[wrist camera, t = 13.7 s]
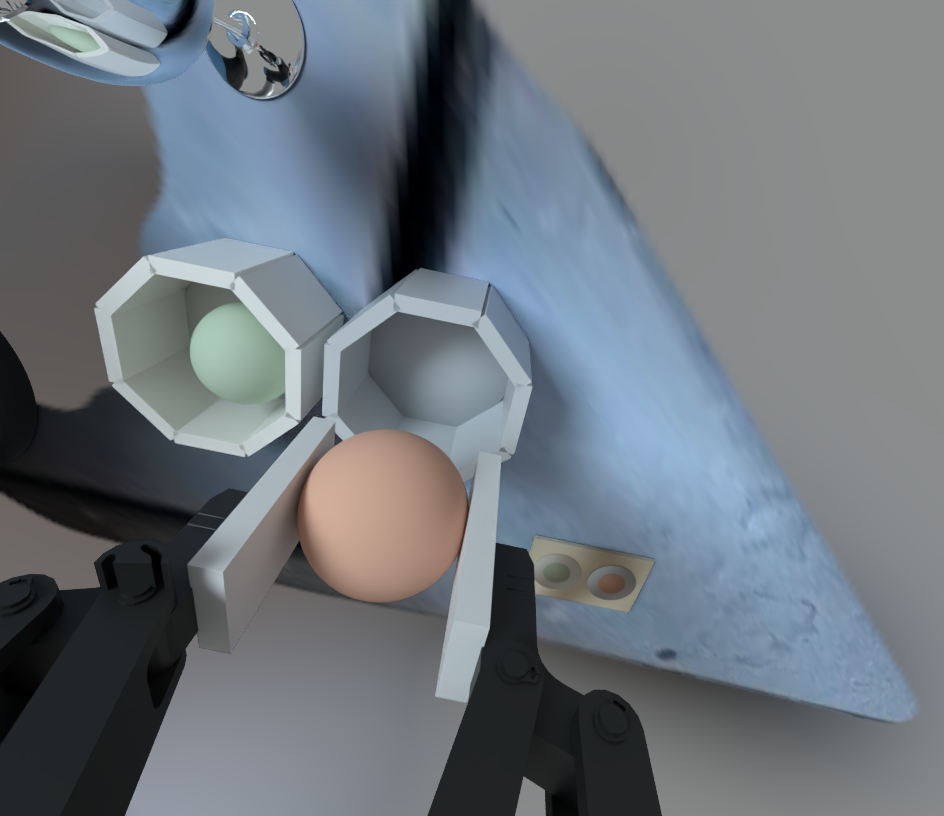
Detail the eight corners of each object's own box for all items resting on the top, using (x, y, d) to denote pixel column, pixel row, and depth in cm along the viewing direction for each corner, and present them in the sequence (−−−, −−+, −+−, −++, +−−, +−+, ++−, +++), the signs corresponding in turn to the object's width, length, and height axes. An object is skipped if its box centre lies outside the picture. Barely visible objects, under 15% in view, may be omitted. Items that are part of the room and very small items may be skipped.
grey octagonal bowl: (355, 411, 27) (320, 464, 22) (366, 256, 23) (326, 279, 18) (504, 442, 27) (501, 500, 22) (542, 293, 23) (549, 325, 18)
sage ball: (205, 375, 25) (184, 422, 21) (197, 284, 23) (171, 316, 19) (303, 379, 27) (301, 423, 23) (304, 294, 24) (303, 326, 20)
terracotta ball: (332, 505, 17) (265, 620, 13) (339, 387, 15) (259, 475, 10) (462, 534, 17) (440, 659, 13) (489, 419, 15) (474, 522, 10)
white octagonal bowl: (190, 385, 27) (119, 431, 22) (171, 226, 23) (79, 241, 18) (338, 415, 27) (300, 468, 23) (346, 262, 23) (301, 286, 18)
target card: (517, 587, 33) (517, 592, 32) (535, 534, 30) (535, 539, 30) (627, 609, 33) (629, 614, 32) (653, 558, 30) (655, 564, 30)
